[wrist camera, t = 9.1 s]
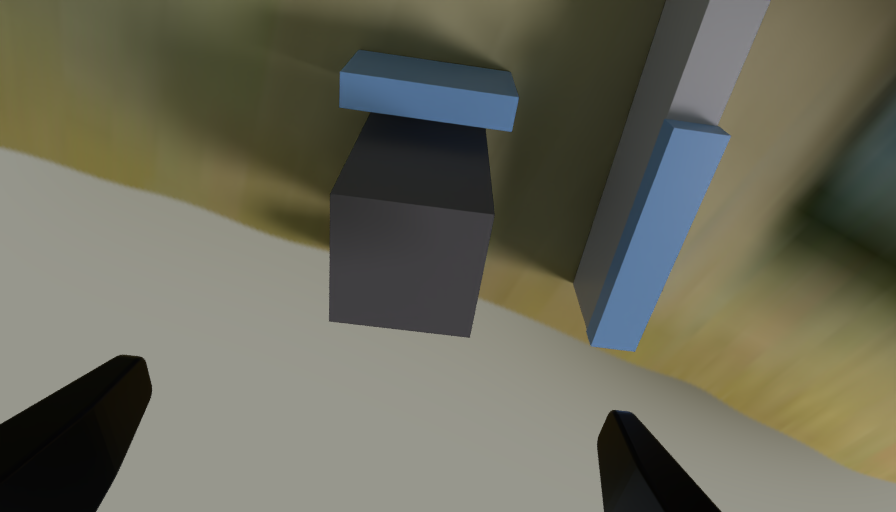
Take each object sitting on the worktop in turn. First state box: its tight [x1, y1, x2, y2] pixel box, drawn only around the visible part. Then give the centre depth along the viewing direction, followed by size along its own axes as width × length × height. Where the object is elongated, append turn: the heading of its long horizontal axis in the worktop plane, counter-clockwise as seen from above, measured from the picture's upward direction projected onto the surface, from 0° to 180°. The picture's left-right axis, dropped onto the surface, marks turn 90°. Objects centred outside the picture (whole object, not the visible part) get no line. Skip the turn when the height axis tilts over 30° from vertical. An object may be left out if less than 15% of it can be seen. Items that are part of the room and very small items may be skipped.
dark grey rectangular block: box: [329, 112, 495, 338], centre depth 16 cm, size 4×4×6 cm
